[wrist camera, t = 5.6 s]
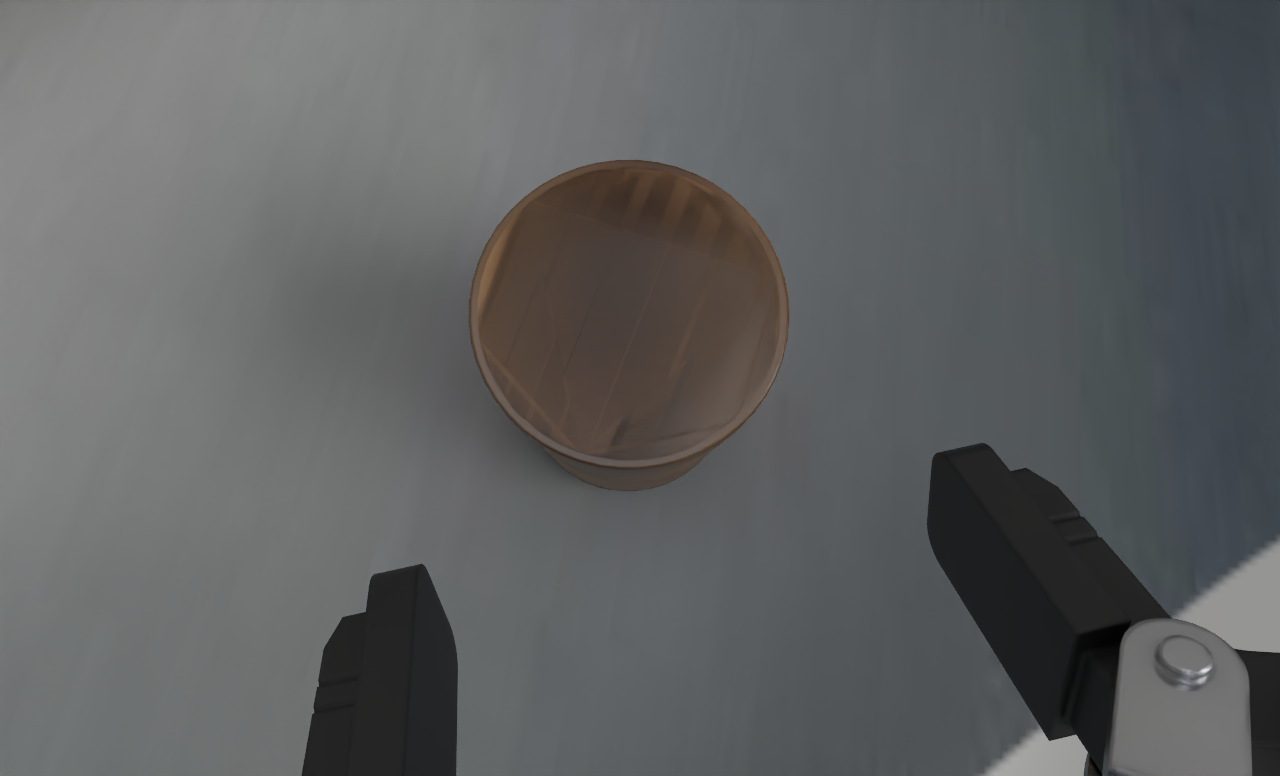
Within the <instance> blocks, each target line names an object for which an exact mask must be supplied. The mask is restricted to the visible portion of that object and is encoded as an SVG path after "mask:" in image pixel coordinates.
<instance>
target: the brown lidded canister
mask: <svg viewBox="0 0 1280 776" xmlns="http://www.w3.org/2000/svg"><path fill="white" fill-rule="evenodd" d="M788 326H789V305H788V295H787V289H786V284H785V278H784V275H783V272H782V269H781V266H780V263H779V260H778V258H777V256H776V254H775V251H774V249H773V247H772V245H771V243H770V241H769V240H768V238H767V236H766V235H765V233H764V232H763V230H762V229H761V227H760V226H759V224H758V223H757V222H756V221H755V220H754V218H753V217H752V216H751V215H750V214H749V212H748V211H747V210H746V209H745V208H744V207H743V206H742V205H741V204H739V203H738V202H737V201H736V200H735V199H734V198H733V197H732V196H731V195H729V194H728V193H726V192H725V191H724V190H722V189H721V188H719V187H718V186H716V185H715V184H713V183H712V182H710V181H708V180H706V179H704V178H702V177H700V176H698V175H696V174H694V173H691V172H689V171H686V170H683V169H681V168H678V167H674V166H670V165H666V164H662V163H658V162H650V161H641V160H615V161H607V162H600V163H595V164H591V165H587V166H583V167H579V168H576V169H574V170H571V171H569V172H566V173H563V174H561V175H559V176H557V177H555V178H553V179H551V180H549V181H548V182H546V183H544V184H542V185H541V186H539V187H538V188H536V189H535V190H534V191H532V192H531V193H530V194H528V195H527V196H525V197H524V198H523V199H522V200H521V201H520V202H519V203H518V204H517V205H516V206H515V207H514V208H512V209H511V210H510V211H509V213H508V214H507V215H506V216H505V217H504V219H503V220H502V221H501V222H500V224H499V225H498V226H497V227H496V229H495V231H494V232H493V234H492V236H491V237H490V239H489V240H488V242H487V244H486V246H485V248H484V250H483V252H482V255H481V257H480V259H479V261H478V264H477V268H476V271H475V274H474V278H473V281H472V287H471V293H470V299H469V328H470V337H471V344H472V348H473V352H474V356H475V359H476V363H477V365H478V368H479V370H480V373H481V375H482V378H483V380H484V382H485V384H486V386H487V387H488V389H489V391H490V393H491V394H492V396H493V398H494V400H495V401H496V402H497V403H498V405H499V406H500V407H501V409H502V410H503V411H504V413H505V414H506V415H507V416H508V417H509V418H510V419H511V421H512V422H513V423H514V424H515V425H516V426H517V427H519V428H520V429H521V430H522V431H523V432H524V433H525V434H526V435H527V436H528V437H529V438H530V439H532V440H533V441H534V442H536V443H537V444H538V445H540V446H541V447H542V448H544V449H545V450H546V451H547V452H548V453H549V455H550V456H551V457H552V458H553V459H554V460H555V461H556V462H557V463H558V464H559V465H560V466H562V467H563V468H564V469H565V470H567V471H568V472H569V473H571V474H572V475H574V476H576V477H578V478H579V479H581V480H583V481H585V482H588V483H590V484H593V485H595V486H599V487H602V488H606V489H612V490H620V491H637V490H644V489H650V488H654V487H657V486H661V485H664V484H666V483H668V482H671V481H673V480H675V479H677V478H678V477H680V476H682V475H683V474H685V473H687V472H688V471H689V470H690V469H692V468H693V467H694V466H695V465H697V464H698V463H699V462H700V461H701V460H702V458H703V457H704V456H705V455H706V454H707V453H708V452H709V451H710V450H712V449H714V448H715V447H717V446H719V445H720V444H721V443H722V442H724V441H725V440H726V439H727V438H729V437H730V436H731V435H732V434H734V433H735V432H736V431H737V430H738V429H739V428H740V427H741V426H742V425H743V424H744V423H745V421H746V420H747V419H748V418H749V417H750V416H751V415H752V414H753V413H754V412H755V410H756V409H757V408H758V406H759V405H760V404H761V402H762V401H763V399H764V398H765V397H766V395H767V393H768V391H769V389H770V387H771V386H772V384H773V382H774V380H775V378H776V376H777V373H778V370H779V368H780V365H781V362H782V360H783V356H784V351H785V347H786V343H787V337H788Z"/></svg>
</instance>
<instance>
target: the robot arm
mask: <svg viewBox="0 0 1280 776" xmlns="http://www.w3.org/2000/svg"><path fill="white" fill-rule="evenodd" d="M927 528H928V535H929V539H930V543H931V546H932V549H933V552H934V554H935V556H936V559H937V560H938V562H939V564H940V566H941V567H942V569H943V570H944V572H945V574H946V575H947V577H948V578H949V580H950V582H951V583H952V585H953V586H954V588H955V590H956V591H957V593H958V595H959V596H960V598H961V599H962V601H963V603H964V604H965V606H966V607H967V609H968V611H969V612H970V614H971V616H972V617H973V619H974V620H975V622H976V624H977V625H978V627H979V628H980V630H981V632H982V633H983V635H984V636H985V638H986V640H987V641H988V643H989V645H990V646H991V648H992V649H993V651H994V653H995V654H996V656H997V657H998V659H999V661H1000V662H1001V664H1002V666H1003V667H1004V669H1005V670H1006V672H1007V674H1008V675H1009V677H1010V678H1011V680H1012V682H1013V683H1014V685H1015V687H1016V688H1017V690H1018V691H1019V693H1020V695H1021V696H1022V698H1023V699H1024V701H1025V703H1026V704H1027V706H1028V707H1029V709H1030V711H1031V712H1032V714H1033V716H1034V717H1035V719H1036V720H1037V722H1038V724H1039V725H1040V727H1041V728H1042V730H1043V732H1044V733H1045V735H1046V737H1047V738H1048V740H1049V741H1051V740H1055V739H1059V738H1063V737H1068V736H1072V735H1077V736H1078V738H1079V739H1080V741H1081V742H1082V744H1083V745H1084V746H1085V748H1086V750H1087V751H1088V754H1087V758H1086V762H1085V769H1084V776H1280V653H1272V652H1271V653H1270V652H1256V651H1245V650H1238V649H1233V648H1232V647H1231V646H1230V645H1229V644H1228V643H1227V642H1225V641H1224V640H1223V639H1221V638H1220V637H1219V636H1217V635H1216V634H1214V633H1212V632H1211V631H1209V630H1207V629H1205V628H1203V627H1200V626H1198V625H1196V624H1193V623H1190V622H1186V621H1182V620H1178V619H1172V618H1171V617H1170V616H1169V615H1168V614H1167V613H1166V612H1165V610H1164V609H1163V608H1162V607H1161V606H1160V605H1159V604H1158V602H1157V601H1156V600H1155V599H1154V598H1153V597H1152V595H1151V594H1150V593H1149V592H1148V591H1147V590H1146V588H1145V587H1144V586H1143V585H1142V584H1141V583H1140V582H1139V580H1138V579H1137V578H1136V577H1135V576H1134V575H1133V573H1132V572H1131V571H1130V570H1129V569H1128V568H1127V567H1126V565H1125V564H1124V563H1123V562H1122V561H1121V560H1120V558H1119V557H1118V556H1117V555H1116V554H1115V553H1114V551H1113V550H1112V549H1111V548H1110V547H1109V546H1108V545H1107V543H1106V542H1105V541H1104V540H1103V539H1102V538H1099V537H1098V536H1097V532H1096V531H1095V529H1094V528H1093V527H1092V526H1091V525H1090V524H1089V523H1088V521H1087V520H1086V519H1085V518H1084V517H1081V516H1080V514H1079V511H1078V510H1077V509H1076V507H1075V506H1074V505H1073V504H1072V503H1071V502H1070V501H1069V499H1068V498H1067V497H1066V496H1065V495H1064V494H1063V492H1062V491H1061V490H1060V489H1059V488H1058V487H1057V486H1055V485H1054V484H1052V483H1050V482H1049V481H1047V480H1045V479H1044V478H1042V477H1040V476H1039V475H1037V474H1035V473H1034V472H1032V471H1030V470H1029V469H1027V468H1023V469H1019V470H1014V471H1010V470H1009V469H1008V468H1007V466H1006V465H1005V464H1004V463H1003V462H1002V460H1001V459H1000V458H999V457H998V455H997V454H996V453H995V452H994V450H993V449H992V448H991V447H990V446H988V445H987V444H985V443H980V444H975V445H971V446H966V447H962V448H957V449H953V450H948V451H943V452H939V453H936V454H935V455H934V457H933V460H932V468H931V480H930V493H929V505H928V518H927ZM318 681H319V687H317V691H316V696H315V702H314V711H315V712H314V714H312V719H311V725H310V731H309V736H308V742H307V748H306V753H305V759H304V765H303V771H302V776H456V747H457V683H458V663H457V652H456V646H455V641H454V636H453V633H452V629H451V626H450V624H449V621H448V619H447V617H446V614H445V612H444V609H443V607H442V605H441V602H440V600H439V597H438V595H437V592H436V590H435V588H434V585H433V583H432V580H431V578H430V576H429V573H428V571H427V569H426V567H425V566H424V565H423V564H419V565H415V566H410V567H405V568H401V569H396V570H392V571H387V572H383V573H378V574H374V575H373V576H372V577H371V580H370V585H369V592H368V600H367V607H366V612H364V613H359V614H355V615H350V616H346V617H343V618H342V619H341V621H340V623H339V624H338V626H337V628H336V629H335V631H334V633H333V634H332V636H331V638H330V639H329V641H328V643H327V644H326V646H325V648H324V651H323V656H322V662H321V668H320V674H319V679H318Z"/></svg>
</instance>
